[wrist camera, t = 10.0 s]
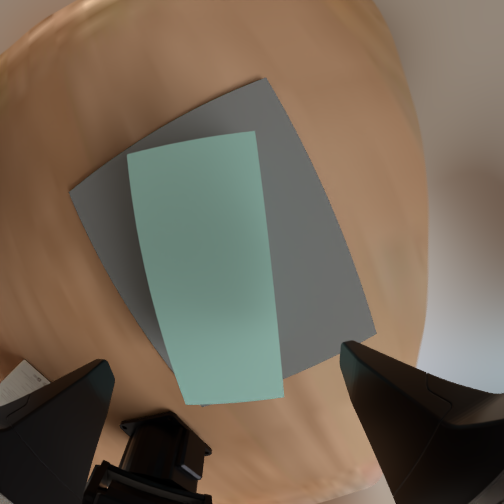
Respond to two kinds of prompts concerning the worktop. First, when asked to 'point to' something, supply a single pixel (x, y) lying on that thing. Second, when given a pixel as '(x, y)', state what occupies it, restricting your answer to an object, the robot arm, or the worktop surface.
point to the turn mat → (278, 226)
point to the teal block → (210, 265)
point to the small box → (20, 382)
